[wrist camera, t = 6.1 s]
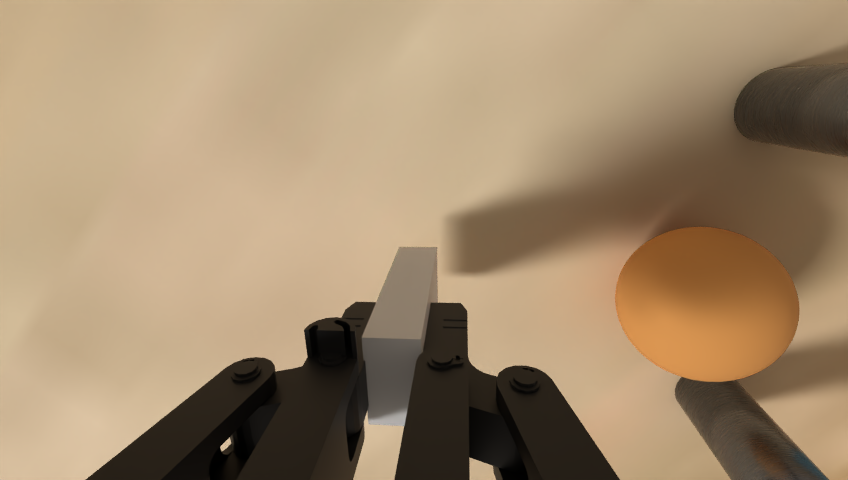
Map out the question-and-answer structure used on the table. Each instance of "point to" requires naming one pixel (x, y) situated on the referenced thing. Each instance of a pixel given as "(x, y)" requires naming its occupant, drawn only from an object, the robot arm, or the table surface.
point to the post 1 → (797, 108)
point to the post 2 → (742, 433)
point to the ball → (707, 304)
